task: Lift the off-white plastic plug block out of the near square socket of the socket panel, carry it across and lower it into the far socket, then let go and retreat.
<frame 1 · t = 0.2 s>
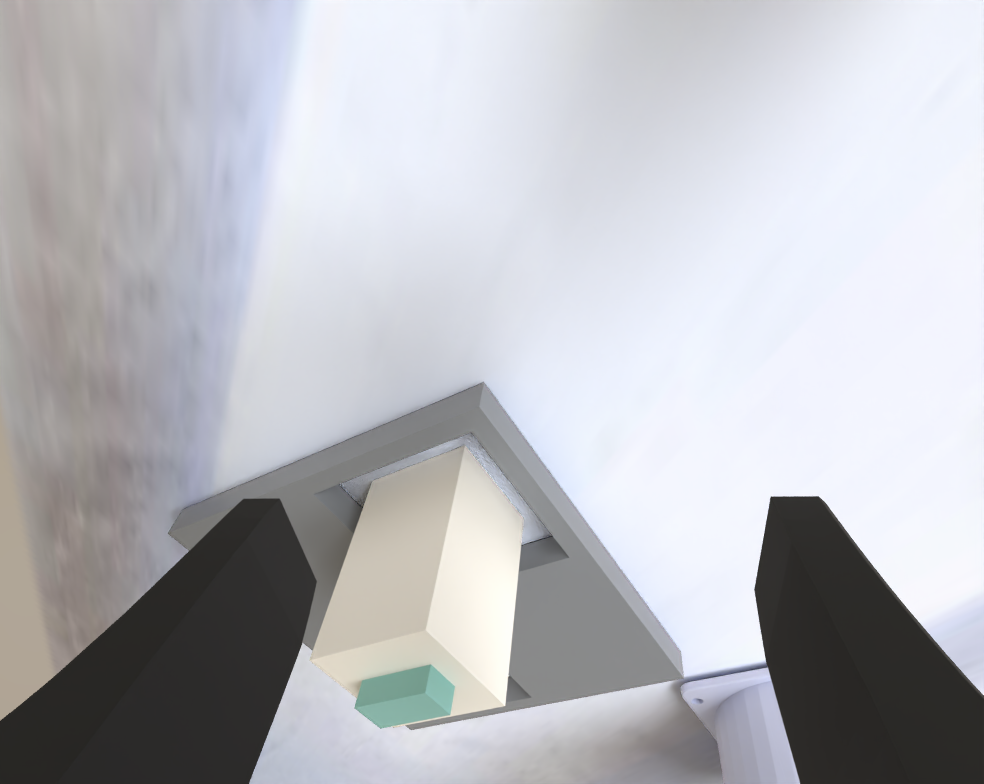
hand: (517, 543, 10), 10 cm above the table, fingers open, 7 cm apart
plug: (448, 499, 24), resting in socket panel
socket panel: (441, 583, 27), on the table
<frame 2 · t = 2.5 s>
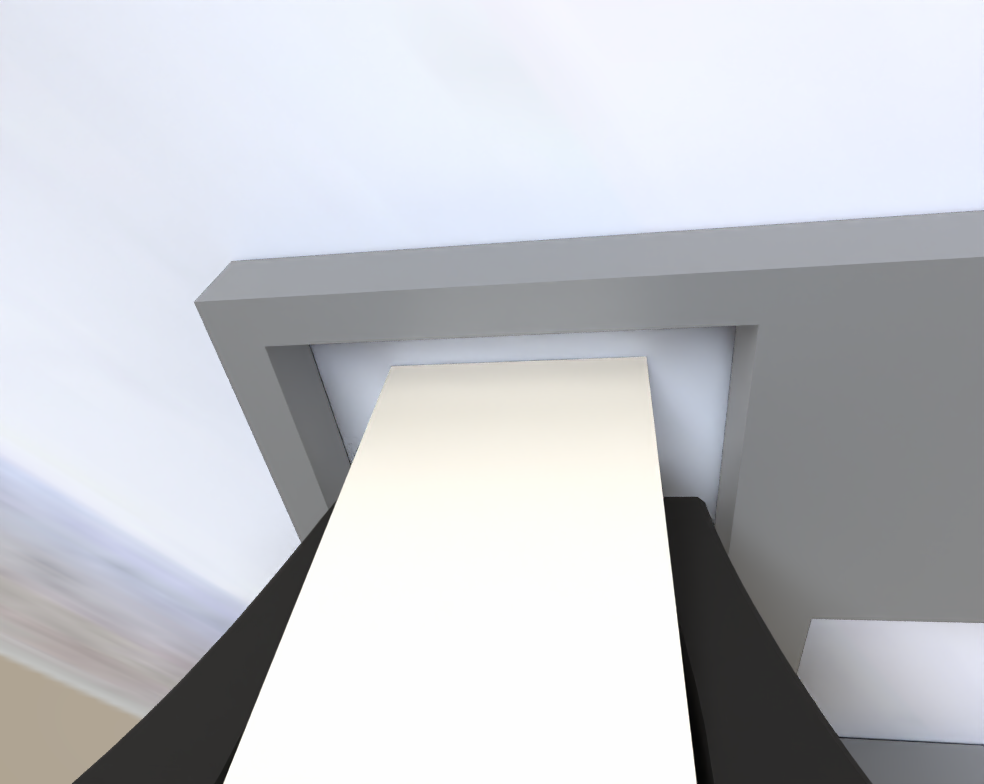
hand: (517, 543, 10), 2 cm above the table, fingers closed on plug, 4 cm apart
plug: (526, 456, 12), resting in socket panel, touching gripper
socket panel: (750, 570, 13), on the table
when the fingers open (2 cm above the table, at t = 6.6 s): plug stays where it is, resting in socket panel.
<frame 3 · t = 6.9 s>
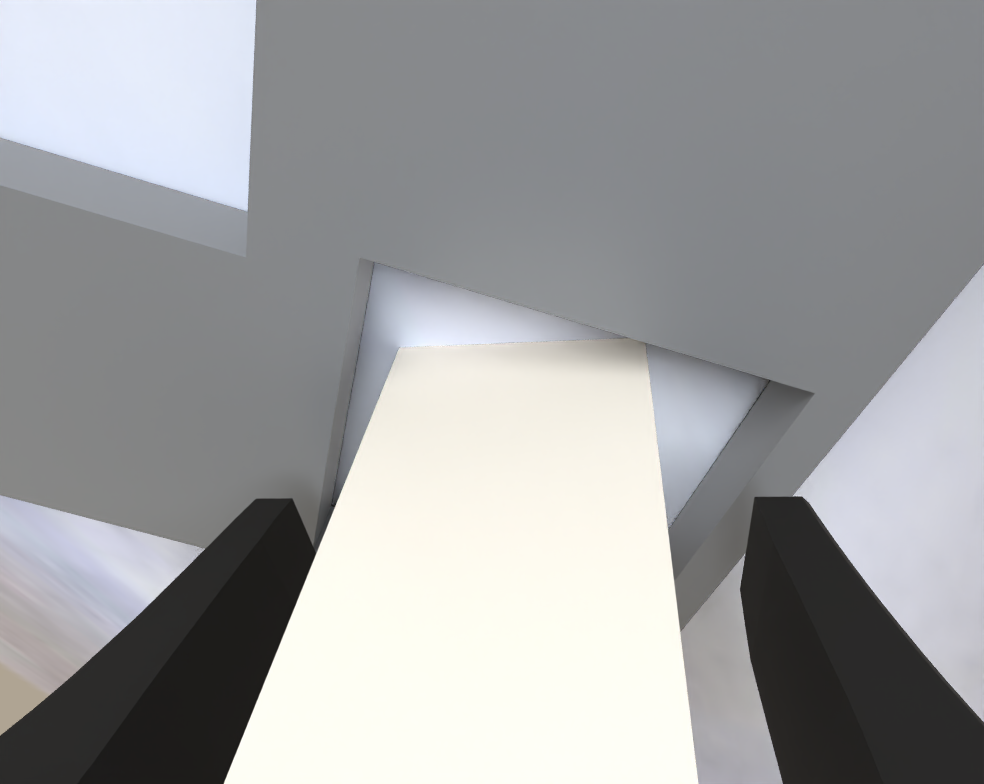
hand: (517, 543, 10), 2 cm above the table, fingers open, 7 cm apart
plug: (529, 435, 12), resting in socket panel
socket panel: (329, 220, 10), on the table
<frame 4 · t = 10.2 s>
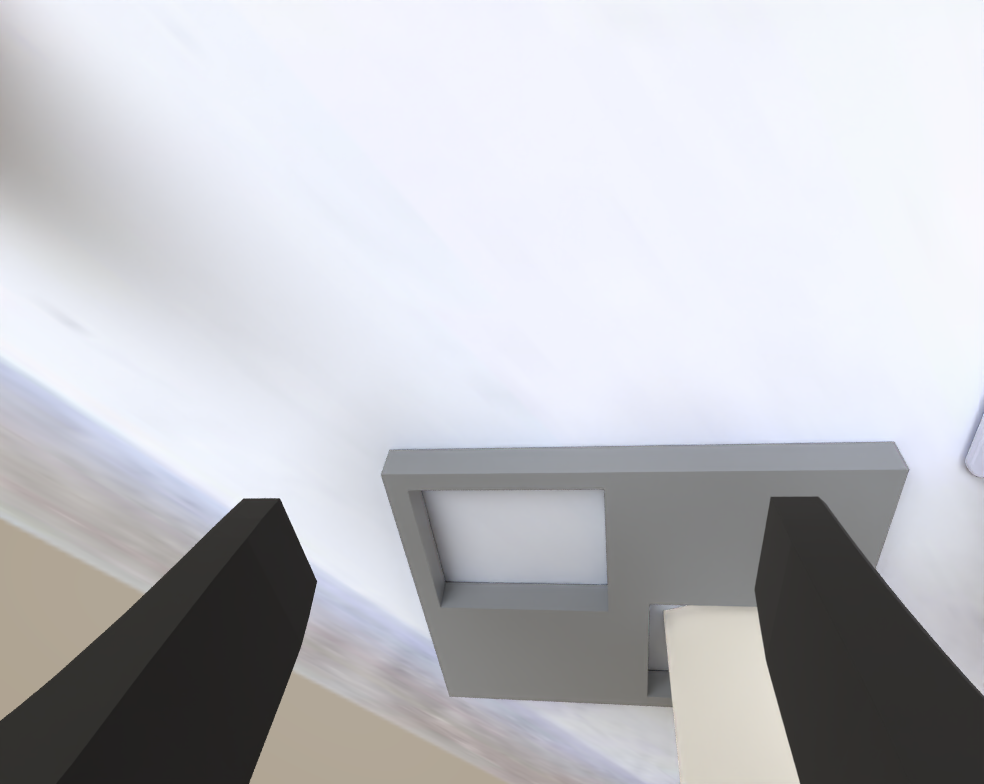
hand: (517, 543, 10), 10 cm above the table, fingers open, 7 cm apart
plug: (728, 628, 27), resting in socket panel
socket panel: (627, 581, 26), on the table
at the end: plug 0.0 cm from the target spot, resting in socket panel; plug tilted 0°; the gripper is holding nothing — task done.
